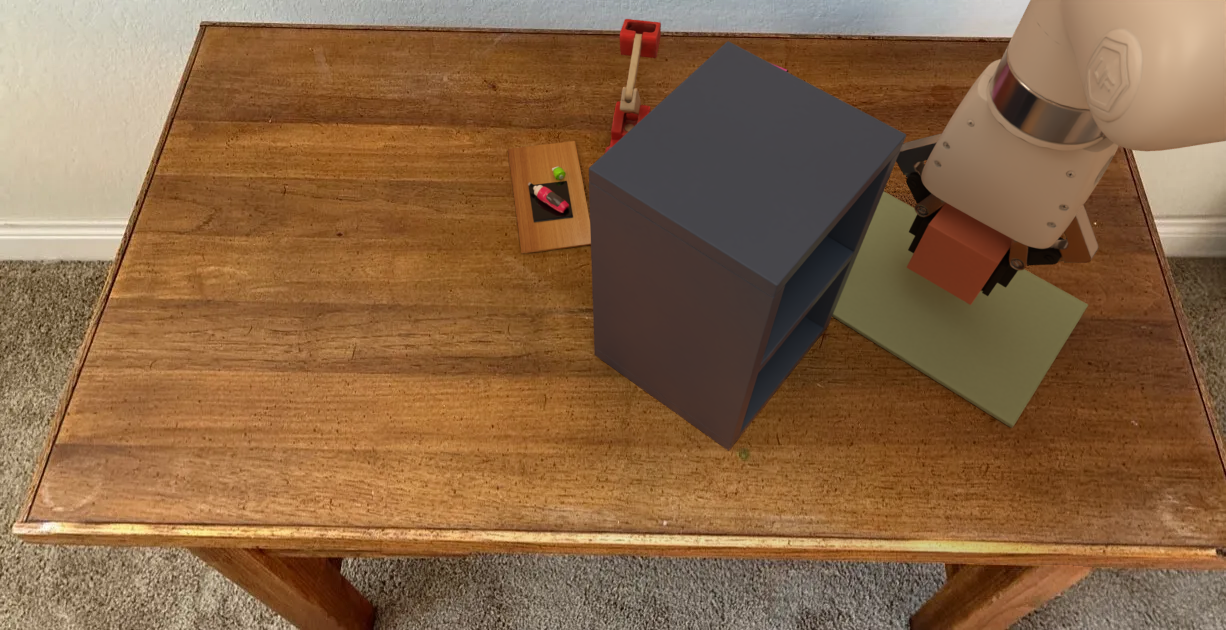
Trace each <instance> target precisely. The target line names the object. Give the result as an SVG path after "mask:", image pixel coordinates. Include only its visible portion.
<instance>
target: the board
mask: <svg viewBox="0 0 1226 630" xmlns="http://www.w3.org/2000/svg"><path fill="white" fill-rule="evenodd" d="M507 155H508V161H509V169H510V176H511V184H512V192H513V199H514V207H515V214H516V222H517V229H518V236H519V237H518V238H519V245H520V246H519V247H520V252H521V255H523V254H524V255H525V254H533V253H539V252H549V251H555V250H563V249H569V248H570V249H571V248H572V249H573V248H579V247H587V246H591V231H590V212H589V208H588V207H589V206H588V203H587V197H586V192H585V191H586V190H585V186H584V180H583V176H582V171H581V166H580V165H581V164H580V161H579V155H578V149H577V143H576V141H575V140H570V141H562V142H553V143H545V144H536V145H528V146H521V147H520V146H518V147H512V148H510V147H509V148H507Z"/></svg>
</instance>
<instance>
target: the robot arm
mask: <svg viewBox="0 0 1226 630" xmlns="http://www.w3.org/2000/svg"><path fill="white" fill-rule="evenodd" d="M1221 142H1226V0H1029V2H1028V4H1027V6H1026V8H1025V10H1024V12H1023V14H1022V16H1021V18H1020V20H1019V23H1018V24H1017V26H1016V28H1015V30H1014V32H1013V34H1012V36H1011V38H1010V40H1009V43H1008V44H1007V46H1006V49H1005V50H1004V52H1003V55H1002V57H1001V58H1000V59H996V60H994V61H992V62H991V63H989V64H988V65H987V66H986V68H984V70H983V71H982V72H981V73H980V75H979V76H978V77H977V78H976V80H975V81H974V83H973V84H972V85H971V87H970V88H969V90H968V91H967V92H966V94H965V96H964V97H963V98H962V100H961V101H960V103H959V105H958V106H957V107H956V110H955V111H954V112H953V114H952V116H951V117H950V119H949V120H948V122H947V124H946V126H945V127H944V128H943V131H942V133H938V134H934V135H929V136H926V137H922V138H917V139H914V140H909V141H906V142H904V143H903V145H902V148H901V150H900V153H899V155H898V157H897V160H896V162H895V163H896V164H897V166H898V168H899V169H900V171H901V173H902V174H903V176H905V178H906V179H905V183H906V185H907V187H908V190H909V191H910V194H911V195H912V197H913V199H914V201H915V203H916V204H915V206H914V207H913V208H914V209H915V212H916V213H917V216H916V218H915V220H914V222H913V224H912V226H911V228H910V230H909V233H911V234H913V235H914V236H915V237H914V239H913V241H912V243H911V245H910V247H909V249H908V251H910V252H912V253H914V252H915V250H916V248H917V246H918V244H919V242H920V240H921V238H922V236H923V234H924V232H925V230H926V228H927V227H928V225H929V223H930V222H931V221H932V219H933V218H934V217H935V216H936V214H937V213H938V212H939V210H940V209H941V208H942V207H943V205H945V204H946V203H948V204H950V205H951V206H953V207H955V208H957V209H958V210H960V211H962V212H964V213H966V214H967V215H969V216H971V217H973V218H975V219H976V220H978V221H980V222H982V223H984V224H986V225H987V226H989V227H991V228H993V229H995V230H997V231H998V232H1000V233H1002V234H1004V235H1006V236H1008V237H1010V238H1011V244H1010V248H1009V250H1008V251H1007V253H1006V254H1005V256H1004V257H1003V258H1002V260H1001V261H1000V263H999V264H998V266H997V267H996V269H995V270H994V272H993V273H992V275H991V276H990V278H989V279H988V281H987V282H986V284H985V285H984V287H983V288H982V290H981V291H983V292H982V293H983V294H985V295H986V296H989V294H990V293H991V291H992V290H993V288H994V287H995V285H996V284H997V283H998V284H1000V285H1002V286H1004V287H1007V286H1008V284H1009V283H1010V281H1011V280H1012V278H1013V277H1014V276H1015V274H1016V273H1017V271H1018V270H1019V271H1020V270H1024V269H1025V270H1026V268H1027V267H1028V266H1049V265H1050V266H1051V265H1053V266H1054V265H1057V264H1058V263H1059V262H1063V264H1067V263H1068V264H1087V263H1090V262H1091V261H1092V260H1093V258H1094V257H1095V255H1096V253H1097V252H1098V250H1099V249H1100V248H1099V244H1098V241H1097V238H1096V235H1095V232H1094V230H1093V227H1092V224H1091V221H1090V219H1089V216H1088V213H1087V209H1086V206H1085V203H1086V202H1087V201H1088V200H1089V198H1090V197H1091V195H1092V193H1093V192H1094V190H1095V188H1096V187H1097V185H1098V184H1099V183H1100V181H1101V179H1102V178H1103V176H1104V175H1105V173H1106V172H1107V170H1108V168H1109V166H1110V165H1111V162H1112V161H1113V159H1114V158H1115V155H1116V152H1117V151H1118V149H1119V147H1121V148H1124V149H1127V150H1131V151H1137V152H1138V151H1139V152H1159V151H1160V152H1161V151H1168V150H1175V149H1183V148H1189V147H1194V146H1195V147H1196V146H1202V145H1208V144H1209V145H1210V144H1216V143H1221ZM1062 235H1064V236H1065V238H1064V237H1061V236H1062Z"/></svg>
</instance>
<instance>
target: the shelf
mask: <svg viewBox="0 0 1226 630" xmlns="http://www.w3.org/2000/svg"><path fill="white" fill-rule="evenodd" d="M771 63H772V62H769V61H767V60H765V59H763V58H762V57H760V56H758V55H755V53H752V52H750V51H749V50H747V49H744V48H742V47H741V46H739V45H737V44H735V43H732V42H730V41H729V40H727V41H726V42H724V44H723V45H721V47H720V48H718V49H717V50H716V51H715V52H714V53H713V54H711V55H710V56H709V57H708V58H707V59H706V60H705V61H704V62H703V63H702V64H701V65H700V66H699V67H697V68H696V69H695V70H694V71H693V72H692V73H691V74H689V76H688V77H687V78H685V79H684V80H683V81H682V82H681V83H680V84H679V85H678V86H677V87H676V88H675V89H673V90H672V91H671V92H670V93H669V94H668V95H667V96H666V97H664V98H663V100H661V101H660V102H659V103H657V105H656V106H655V107H654V108H653V109H652V110H650V113H648V114H647V115H646V116H645V117H644V118H643V119H642V120H641V121H640V122H639V123H638V124H636V125H635V126H634V127H633V128H632V129H631V130H630V131H629V132H628V133H627V134H626V135H624V136H623V137H622V138H621V139H620V140H619V141H618V142H617V143H616V144H615V145H613V146H612V147H611V148H610V149H609V150H608V151H607V152H606V153H605V152H604V154H603V155H601V156H600V157H599V158H598V159H597V160H596V161H595V162H594V163H593V164H592V165H590V166H589V167H588V194H589V195H588V196H589V197H588V198H589V218H590V231H591V245H590V257H591V258H590V259H591V287H592V290H591V291H592V320H593V321H592V323H593V344H594V345H593V352H594V356H596V357H597V358H598V359H600V360H601V361H602V362H604V363H605V364H606V365H608V366H609V367H611V368H612V369H613V370H615V371H616V372H618V373H619V374H621V375H622V376H623V377H625V379H628V380H629V381H631V382H632V383H633V384H634V385H635V386H637V387H638V388H640V389H642V391H644V392H645V393H647V394H649V395H650V396H651V397H652V398H654V399H655V400H656V401H659V403H661V404H662V405H663V406H665V407H667V408H668V409H670V410H671V411H672V412H674V413H675V414H677V415H678V416H679V417H681V418H682V419H683V420H685V421H686V422H688V423H689V424H690V425H691V426H693V427H695V428H696V429H698V430H699V431H700V432H702V433H703V434H705V436H707V437H709V438H710V439H711V440H713V441H714V442H716V444H718V445H719V446H721V447H723V448H724V449H725V450H727V451H728V452H729V451H730V450H732V448H733V447H734V445H735V444H736V443H737V442H738V440H739V439H740V438H741V437H742V435H743V434H744V433H745V432H746V430H748V428H749V427H750V426H751V424H752V423H753V422H754V420H755V419H756V418H757V416H758V415H759V414H760V413H761V412H762V410H763V409H764V408H765V406H766V405H767V404H768V403H769V401H770V400H771V399H772V398H773V396H774V395H775V394H776V393H777V391H778V390H779V389H780V388H781V386H782V385H783V384H784V382H786V380H787V379H788V378H789V376H790V375H791V374H792V373H793V371H794V370H795V369H796V367H798V366H799V364H800V363H801V361H802V360H803V359H804V357H806V355H807V353H808V352H809V351H810V350H811V349H812V347H813V346H814V345H815V344H816V342H817V341H818V340H819V339H820V337H821V336H822V335H823V333H824V332H825V331H826V330H827V328H828V327H829V326H830V323H831V321H832V318H833V317H832V315H833V313H834V310H835V308H836V306H837V303H838V301H839V298H840V296H841V293H842V291H843V289H844V286H845V284H846V281H847V279H848V276H849V274H850V272H851V269H852V267H853V264H854V262H855V259H856V257H857V255H858V252H859V250H860V247H861V245H862V242H863V240H864V238H865V235H866V233H867V230H868V228H869V225H870V223H871V221H872V218H873V216H874V213H875V211H876V208H877V206H878V204H879V201H880V199H881V196H882V194H883V191H884V192H885V189H886V187H887V184H888V182H889V179H890V177H891V174H892V172H893V170H894V167H895V165H896V163H897V162H896V160H897V157H898V155H899V153H900V150H901V148H902V145H903V143H905V140H906V138H907V134H906V133H904V132H903V131H901V130H899V129H898V128H895V127H893V126H891V125H889V124H888V123H885V122H883V121H882V120H880V119H878V118H876V117H874V116H872V115H870V114H868V113H867V112H864V111H863V110H861V109H859V108H857V107H855V106H853V105H851V104H849V103H847V102H845V101H844V100H842V99H840V98H838V97H836V96H834V95H833V94H830V93H828V92H826V91H825V90H823V89H821V88H818V87H817V86H815V85H813V84H811V83H810V82H808V81H805V80H803V79H802V78H800V77H797V76H796V75H794V74H792V73H790V72H789V71H788V72H786V71H784V70H782V69H781V68H779V67H780V66H779V67H777V66H778V65H777V66H775V65H776V64H774V63H772V64H771ZM773 64H774V65H773Z"/></svg>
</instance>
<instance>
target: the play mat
mask: <svg viewBox="0 0 1226 630" xmlns="http://www.w3.org/2000/svg"><path fill="white" fill-rule="evenodd" d="M914 208H915V207H913V206H912V205H910V204H908V203H906V202H904V201H902V200H900V199H899V198H898V197H895V196H894V195H891V194H890V193H888V192H886V191H885V190H884V191H883V194H882V196H881V199H880V201H879V204H878V206H877V208H876V211H875V213H874V216H873V218H872V221H871V223H870V225H869V228H868V230H867V233H866V235H865V238H864V240H863V242H862V245H861V247H860V250H859V252H858V255H857V257H856V259H855V262H854V264H853V267H852V269H851V272H850V274H849V276H848V279H847V281H846V284H845V286H844V289H843V291H842V293H841V296H840V298H839V301H838V303H837V306H836V308H835V310H834V313H833V315H832V318H834V319H835V320H837V321H839V322H841V324H844V325H845V326H847V327H848V328H850V329H852V330H853V331H855V332H856V333H858V334H860V335H861V336H863V337H864V338H866V339H868V340H869V341H871V342H872V343H874V344H876V345H877V346H879V347H880V348H882V349H884V350H885V351H887V352H888V353H890V354H891V355H893V356H895V357H897V358H898V359H899V360H901V361H903V362H905V363H906V364H908V365H909V366H911V367H913V368H914V369H916V370H917V371H919V372H921V373H922V374H924V375H925V376H927V377H929V378H930V379H932V380H934V381H935V382H936V383H938V384H940V385H942V386H943V387H945V388H947V389H948V390H950V391H951V392H952V393H955V394H956V395H958V396H959V397H961V398H962V399H964V400H966V401H967V402H969V403H971V404H972V405H973V406H976V407H977V408H979V409H980V410H982V411H983V412H985V413H987V414H988V415H990V416H991V417H993V418H995V420H998V421H999V422H1001V423H1003V424H1004V425H1006V426H1008V427H1009V428H1010V429H1012V428H1014V426H1015V424H1016V423H1017V422H1018V420H1019V418H1020V416H1021V415H1022V413H1024V410H1025V409H1026V407H1027V406H1028V404H1029V403H1030V400H1031V399H1032V397H1033V395H1034V394H1035V392H1037V389H1038V388H1039V386H1040V384H1041V382H1042V381H1043V379H1044V378H1045V377H1046V374H1047V373H1048V372H1049V370H1050V368H1051V366H1052V365H1053V364H1054V361H1055V360H1056V358H1057V357H1058V355H1059V353H1060V352H1061V351H1062V349H1063V347H1064V345H1065V343H1066V342H1067V340H1068V339H1069V338H1070V336H1071V334H1072V333H1073V331H1074V329H1075V327H1076V326H1077V325H1078V322H1079V321H1080V319H1081V318H1082V317H1083V314H1085V311H1086V310H1087V308H1088V307H1089V304H1088V303H1086V302H1084V300H1083V301H1082V300H1081V299H1079V298H1077V297H1076V296H1074V295H1072V294H1070V293H1069V292H1066V291H1064V290H1063V289H1061V288H1060V287H1058V286H1055V285H1054V284H1052V283H1050V282H1049V281H1046V280H1045V279H1043V278H1041V277H1039V276H1037V275H1036V274H1034V273H1032V272H1030V271H1029V270H1027V269H1026V268H1025V269H1024V270H1020V271H1019V270H1018V271H1017V273H1016V274H1015V276H1014V277H1013V278H1012V280H1011V281H1010V283H1009V284H1008V286H1007V287H1004V286H1002V285H1000V284H998V283H997V284H996V285H995V287H994V288H993V290H992V291H991V293H990V294H989V296H986V295H985V294H983V293H982V292H983V291H980V293H979V294H978V295H977V297H976V298H975V300H974V301H973V303H972V304H971V305H970V304H968V303H966V302H965V301H963V300H961V299H959V298H958V297H956V296H954V295H953V294H951V293H949V292H948V291H946V290H944V289H942V288H941V287H939V286H937V285H936V284H934V283H932V282H930V281H929V280H927V279H925V278H924V277H922V276H920V275H919V274H917V273H915V272H913V271H912V270H910V269H908V268H907V265H908V263H909V262H910V260H911V258H912V256H913V254H914V253H912V252H910V251H908V249H909V247H910V245H911V243H912V241H913V239H914V237H915V236H914V235H913V234H911V233H909V230H910V228H911V226H912V224H913V222H914V220H915V218H916V216H917V213H916V212H915V209H914Z"/></svg>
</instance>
